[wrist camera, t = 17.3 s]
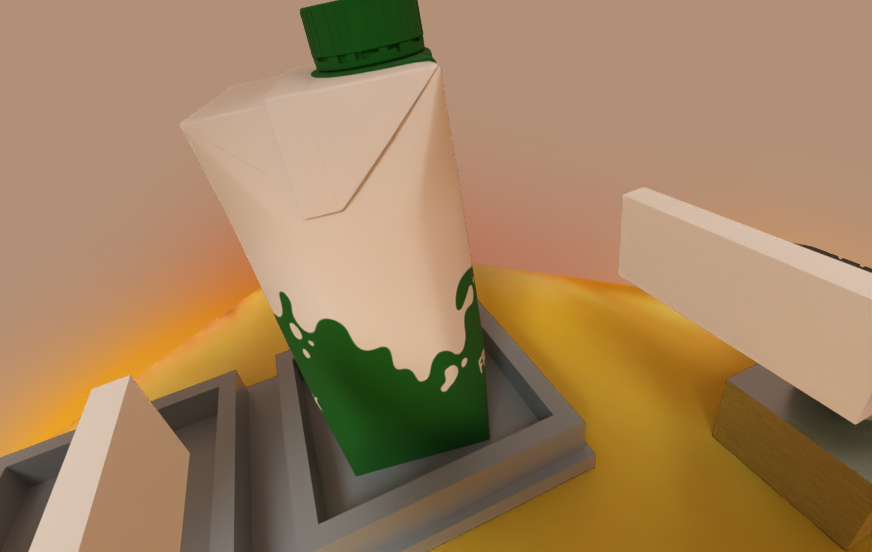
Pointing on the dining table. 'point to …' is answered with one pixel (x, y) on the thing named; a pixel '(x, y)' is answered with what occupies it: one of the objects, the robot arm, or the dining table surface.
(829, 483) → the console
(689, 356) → the dining table surface
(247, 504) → the pocket tray
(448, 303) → the soya milk
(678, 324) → the dining table surface
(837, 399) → the robot arm
